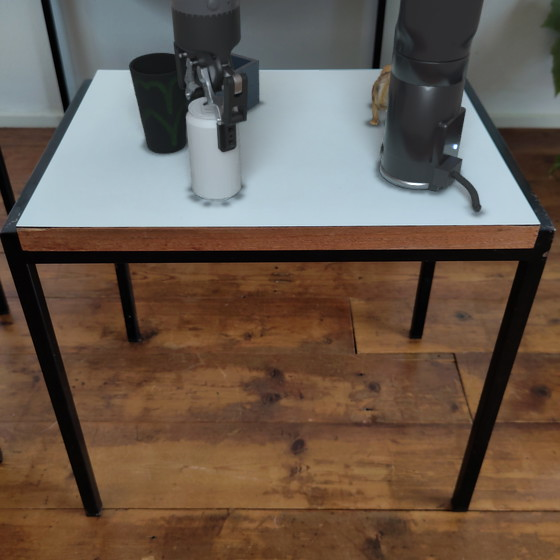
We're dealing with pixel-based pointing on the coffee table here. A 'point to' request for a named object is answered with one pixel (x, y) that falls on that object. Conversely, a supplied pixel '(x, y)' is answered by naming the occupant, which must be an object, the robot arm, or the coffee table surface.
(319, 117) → the coffee table surface
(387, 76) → the lion figurine
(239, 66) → the open box
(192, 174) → the beverage can
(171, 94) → the cup
